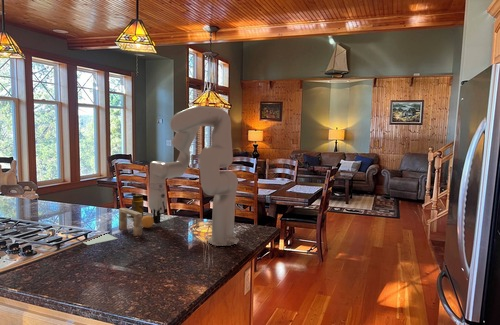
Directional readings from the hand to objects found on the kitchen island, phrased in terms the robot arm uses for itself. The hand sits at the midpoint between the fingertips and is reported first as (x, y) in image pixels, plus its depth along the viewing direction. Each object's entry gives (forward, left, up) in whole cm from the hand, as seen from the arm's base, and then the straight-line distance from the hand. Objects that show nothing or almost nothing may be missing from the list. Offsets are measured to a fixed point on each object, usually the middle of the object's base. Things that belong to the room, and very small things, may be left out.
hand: (156, 222), depth 176 cm
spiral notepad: (0, +30, -2) cm, 30 cm away
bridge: (0, +14, -2) cm, 14 cm away
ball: (0, +5, +1) cm, 5 cm away
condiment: (+22, -2, -2) cm, 22 cm away
